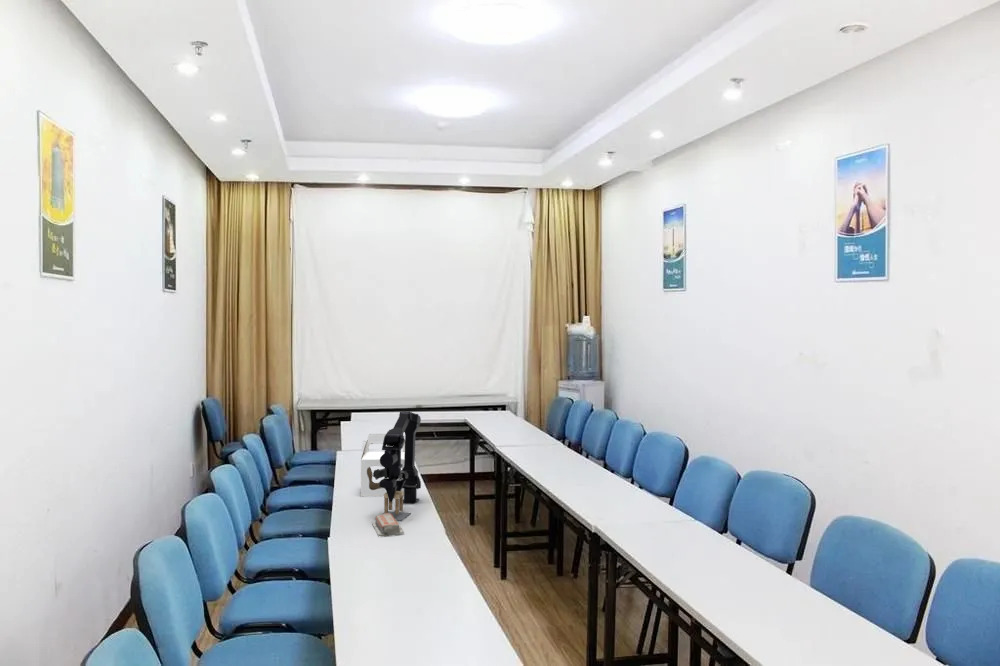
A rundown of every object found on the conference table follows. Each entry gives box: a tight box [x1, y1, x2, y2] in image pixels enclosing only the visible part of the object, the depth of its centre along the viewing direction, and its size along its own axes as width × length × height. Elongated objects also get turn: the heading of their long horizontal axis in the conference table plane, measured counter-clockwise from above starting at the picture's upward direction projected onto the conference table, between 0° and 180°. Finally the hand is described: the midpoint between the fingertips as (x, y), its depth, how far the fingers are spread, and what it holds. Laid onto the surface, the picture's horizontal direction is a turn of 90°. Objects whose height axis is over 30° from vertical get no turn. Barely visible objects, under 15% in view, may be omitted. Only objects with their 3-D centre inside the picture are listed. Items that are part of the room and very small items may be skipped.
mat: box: [380, 510, 411, 522], centre depth 307 cm, size 11×11×1 cm
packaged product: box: [371, 513, 405, 537], centre depth 290 cm, size 18×5×10 cm
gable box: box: [360, 433, 405, 497], centre depth 345 cm, size 22×13×28 cm, turn 94°
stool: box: [383, 491, 404, 514], centre depth 307 cm, size 6×6×8 cm
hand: (393, 499), depth 307 cm, fingers closed on stool, 6 cm apart
